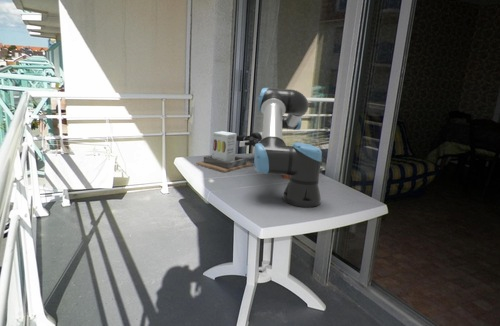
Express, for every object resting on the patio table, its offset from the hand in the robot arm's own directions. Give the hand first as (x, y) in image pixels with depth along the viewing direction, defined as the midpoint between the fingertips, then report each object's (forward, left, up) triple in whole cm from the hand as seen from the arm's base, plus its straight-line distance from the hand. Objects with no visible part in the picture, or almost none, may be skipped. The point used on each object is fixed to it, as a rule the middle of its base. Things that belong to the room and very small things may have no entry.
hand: (231, 141), depth 188 cm
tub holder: (-4, 0, -12) cm, 13 cm away
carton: (+8, -39, -13) cm, 42 cm away
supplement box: (-5, 0, -12) cm, 13 cm away
